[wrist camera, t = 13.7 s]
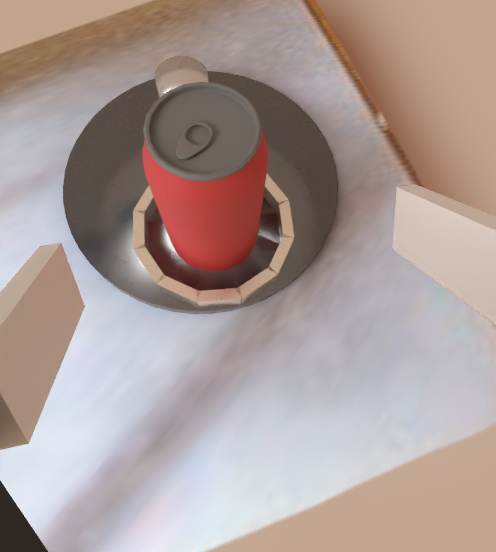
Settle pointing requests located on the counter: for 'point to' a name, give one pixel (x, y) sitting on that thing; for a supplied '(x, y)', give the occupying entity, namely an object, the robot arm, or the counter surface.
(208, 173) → the beer can
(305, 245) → the carrier plate
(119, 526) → the counter surface
